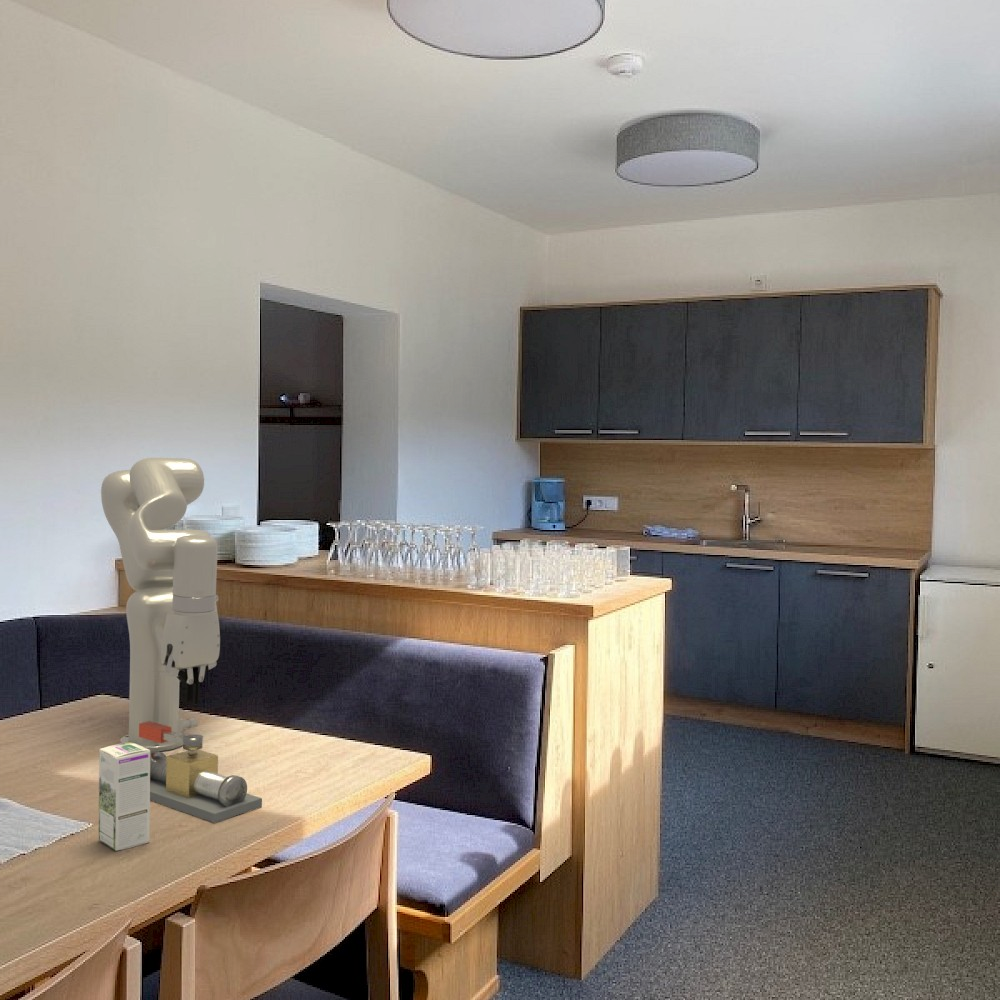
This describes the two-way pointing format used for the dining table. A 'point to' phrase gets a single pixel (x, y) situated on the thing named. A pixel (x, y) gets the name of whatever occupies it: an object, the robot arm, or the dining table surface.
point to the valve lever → (170, 736)
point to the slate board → (201, 803)
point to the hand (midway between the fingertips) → (190, 702)
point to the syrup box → (124, 795)
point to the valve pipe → (197, 777)
